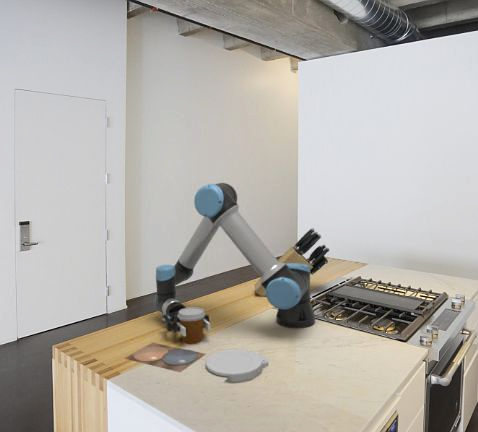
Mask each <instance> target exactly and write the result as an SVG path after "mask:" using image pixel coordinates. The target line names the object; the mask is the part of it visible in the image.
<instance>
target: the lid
mask: <svg viewBox="0 0 478 432" xmlns="http://www.w3.org/2000/svg"><path fill="white" fill-rule="evenodd" d="M267 367H269V359H268V358H267V356H265V355H262V354H261V353H256V352H255V351H252V350H248V349H243V348H242V349H241V348H240V349H239V348H234V349H232V348H231V349H225V350H220V351H216V352H213V353H212V354H211V355H209V356H208V357H207V359H206V360H205V368H206V369H207V370H208V371H209V372H210V373H212V374H214V375H216V376H219V377H223V378H224V377H225V378H227V379H225V380H224V382H226V383H241V382H245V381H250V380H251V379H254V378H256V377H257V376H258V375H259V374H261V371H262V370H263V369H264V368H267Z"/></svg>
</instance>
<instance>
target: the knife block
mask: <svg viewBox="0 0 478 432" xmlns="http://www.w3.org/2000/svg"><path fill="white" fill-rule="evenodd" d="M321 238H322V235H321V234H320V233H318V231H315V228H314V227H312V228H310V229H309V230H308V231H307V232H306V233H304V235H303V236H301V238H300V239H299V240H297V242H296V243H295V244H294V246H290V248H288V250H286V251H285V252H284V254H282V256H280V257H279V259H277V260H278V262H280V263H300V264H307V265H308V266H309V267H310V275H311V276H313V275H314V274H315V273H317V272H318V271H319V270H320V269H321V268H323V267H324V266H325V265H327V264H328V263H329V260H328V259H327V258H326V257H325V255H326V254H328V252H330V248H329V247H327V246H326V244H323V245H319V246H318V247H316V248H315V249H314V250H313V251H312V252H311V253H310V255H309V257H308V258H306V257H305V256H304V255H305V254H306V253H307V252H309V250H310V249H311V248H313V246H314V245H316V244H317V242H318V241H319V240H320V239H321ZM254 291H255V293H256V294H257V295H259V296H261V297H267V296H266V290H265V289H264V287H263V286H262V285H261V277H260V278H259V279H258V280H257V281H256V282H255V283H254Z"/></svg>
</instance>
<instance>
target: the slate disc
mask: <svg viewBox="0 0 478 432" xmlns="http://www.w3.org/2000/svg"><path fill="white" fill-rule="evenodd" d="M194 351H195V350H191V349H185V348H181V350H174V351H170V352H168V353H167V355H166V354H165V355H166V356H165V355H164V357H162V361H163V362H164V363H166V364H168V365H174V366H179V365H186V364H189V363H192V362H194V361H195V360H196V359H197V353H196V352H197V351H195V352H194ZM194 363H195V362H194Z"/></svg>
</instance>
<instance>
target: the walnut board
mask: <svg viewBox="0 0 478 432" xmlns="http://www.w3.org/2000/svg"><path fill="white" fill-rule="evenodd" d="M153 346H157V347H163V348H166V349H167V350H168V352H170V351H174V350H181V349H182V348H180V347H176V346H170V345H167V344H162V343H157V342H151V343H149V344H147V345H145V346H144V347H143V348H146V347H153ZM193 351H194V352H196V353H197V359H196V360H195V361H194V362H192V363H189V364H186V365H179V366H174V365H168V364H166V363H164V362H163V361H162V359H161V360H158V361H153V362H141V361H137V360H135V359H134V353H135V352H133V353H131V354H130V355H128V356H125V357H124V358H123V359H124V360H129V361H133V362H137V363H141V364H146V365H150V366H153V367H157V368H162V369H165V370H170V371H173V372H177V373H181V372H183V371H185V370H186V369H187V368H188V367H190V366H191V365H193V364H194V363H196V362H197V361H199V360H200V359H202V358H203V357H204V356H205V355H207V353H203V352H199V351H195V350H193Z"/></svg>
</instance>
